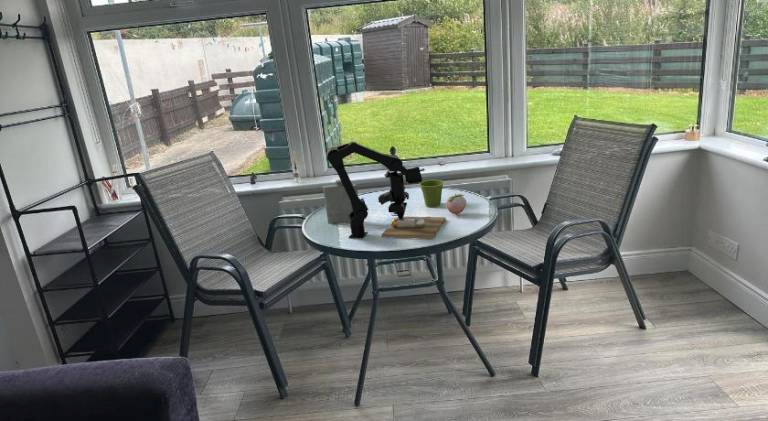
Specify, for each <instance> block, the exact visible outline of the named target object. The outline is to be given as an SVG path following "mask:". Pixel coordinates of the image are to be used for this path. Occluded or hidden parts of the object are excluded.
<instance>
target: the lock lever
mask: <svg viewBox="0 0 768 421" xmlns="http://www.w3.org/2000/svg"><path fill="white" fill-rule="evenodd" d="M391 224H392V227H416V228H422V227H424V219H423V218H416V219H397V217H395V218H392V219H391Z"/></svg>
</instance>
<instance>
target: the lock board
mask: <svg viewBox="0 0 768 421" xmlns="http://www.w3.org/2000/svg"><path fill="white" fill-rule="evenodd" d="M396 218H397V219H399V218H398V216H397V217H396ZM416 218H423V219H424V227H422V228H416V227H392V223H390V225H389V226H388V227H387V228H386V229H385V230H384V231H383V232H381V238H382V237H395V238H394V239H412V238H418V239H419V238H420V239H421V240H434V239H435V238H436V235H437V234H438V233H439V231H441V228H442V227H443V226H444V223H445V222H446V221H447V218H446V216H445V217H444V216H442V217H441V216H440V217H437V216H403V219H416ZM433 238H434V239H433ZM420 239H419V240H420Z"/></svg>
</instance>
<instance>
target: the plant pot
mask: <svg viewBox="0 0 768 421" xmlns="http://www.w3.org/2000/svg"><path fill="white" fill-rule="evenodd" d="M444 184H445V182H444V181H443V180H441V179H428V180H422V182H421V183H418V185H419V186H420V189H421V192H422V195H423V200H424V205H425V206H426V207H427V208H436V207H437V208H439V207H440V206H441V204H442V193H443V188H444Z"/></svg>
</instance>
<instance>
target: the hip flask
mask: <svg viewBox="0 0 768 421" xmlns="http://www.w3.org/2000/svg"><path fill="white" fill-rule="evenodd" d="M352 185H353V187H354V189H355V191H356V193H357V196H358V197H359V192H358V186H357V185H358V184H355V183H352ZM322 190H323V197H324V199H323V200H324V205H325V211H326V218H327V224H330V225H331V224H341V223H342V224H344V223H345V224H347V223H350V219H349V215H350V213H351V212H352V211H353V209H352V206H351V202H350V199H349V197H348V195H347V192H346V190H345V188H344V186H343V184H342V182H341V180H340V178H339V179H336V180H335V184H331V185H330V184H329V185H324V186H322Z"/></svg>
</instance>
